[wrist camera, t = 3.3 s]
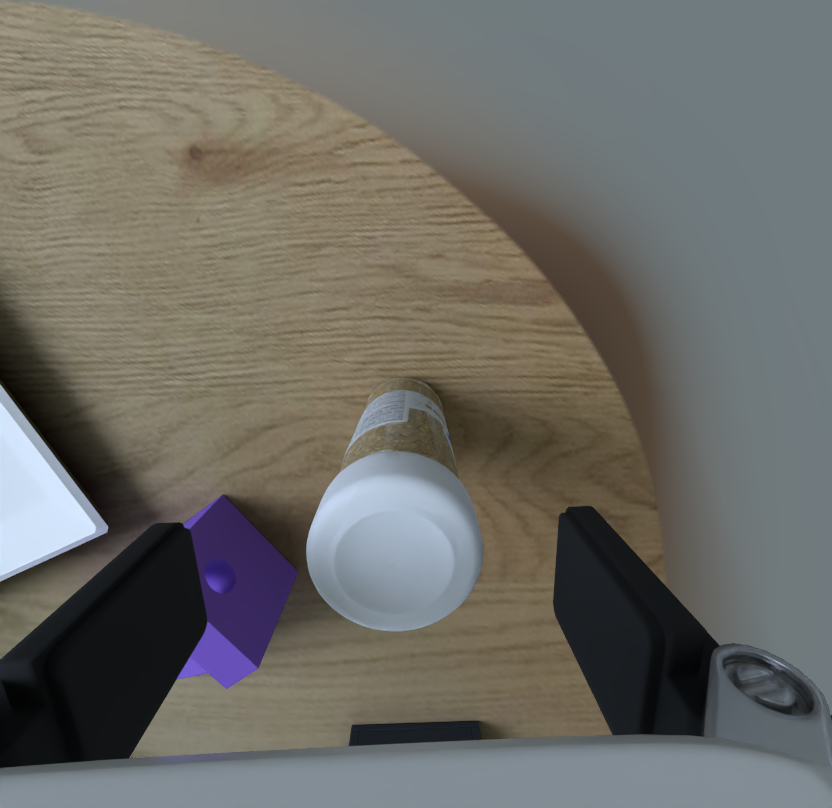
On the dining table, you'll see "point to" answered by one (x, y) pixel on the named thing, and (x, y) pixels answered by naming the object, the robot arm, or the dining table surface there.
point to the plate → (37, 496)
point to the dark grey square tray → (414, 733)
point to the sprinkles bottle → (396, 518)
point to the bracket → (235, 592)
